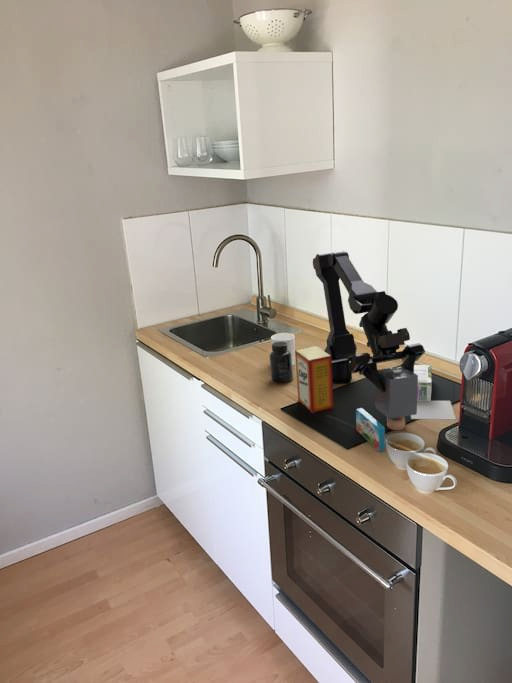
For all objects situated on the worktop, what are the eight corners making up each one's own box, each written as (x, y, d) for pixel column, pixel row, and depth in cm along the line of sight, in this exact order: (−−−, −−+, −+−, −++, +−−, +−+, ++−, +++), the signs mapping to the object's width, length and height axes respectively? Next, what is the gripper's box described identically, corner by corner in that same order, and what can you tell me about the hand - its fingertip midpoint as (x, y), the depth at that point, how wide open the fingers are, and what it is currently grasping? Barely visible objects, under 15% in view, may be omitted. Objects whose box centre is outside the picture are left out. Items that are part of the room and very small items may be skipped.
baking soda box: (298, 400, 166) (295, 348, 161) (318, 396, 168) (316, 344, 162) (311, 413, 157) (308, 359, 152) (333, 408, 159) (331, 354, 154)
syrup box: (430, 383, 170) (432, 402, 157) (410, 382, 171) (409, 401, 158) (431, 364, 168) (432, 382, 155) (410, 364, 170) (409, 381, 156)
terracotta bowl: (387, 432, 144) (387, 421, 143) (386, 423, 148) (386, 413, 147) (405, 432, 143) (405, 421, 142) (404, 424, 147) (404, 413, 146)
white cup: (269, 368, 192) (267, 339, 188) (277, 359, 198) (275, 332, 195) (291, 369, 189) (290, 341, 185) (299, 361, 196) (297, 333, 192)
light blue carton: (385, 450, 136) (384, 427, 134) (379, 452, 135) (379, 428, 133) (361, 429, 147) (361, 407, 145) (356, 430, 146) (355, 408, 144)
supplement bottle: (296, 376, 183) (294, 341, 179) (288, 385, 177) (285, 348, 173) (276, 374, 186) (273, 339, 182) (268, 383, 180) (265, 346, 176)
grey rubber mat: (411, 420, 149) (411, 418, 148) (408, 402, 159) (408, 400, 159) (455, 421, 146) (455, 419, 146) (450, 402, 157) (450, 400, 156)
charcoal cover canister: (375, 407, 146) (375, 366, 143) (401, 403, 148) (402, 362, 145) (389, 418, 139) (389, 375, 136) (416, 414, 141) (418, 371, 138)
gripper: (352, 324, 138) (374, 383, 132) (421, 312, 142) (446, 369, 136) (340, 345, 148) (359, 400, 141) (405, 333, 152) (427, 387, 146)
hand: (398, 389), depth 141 cm, fingers closed on charcoal cover canister, 7 cm apart
